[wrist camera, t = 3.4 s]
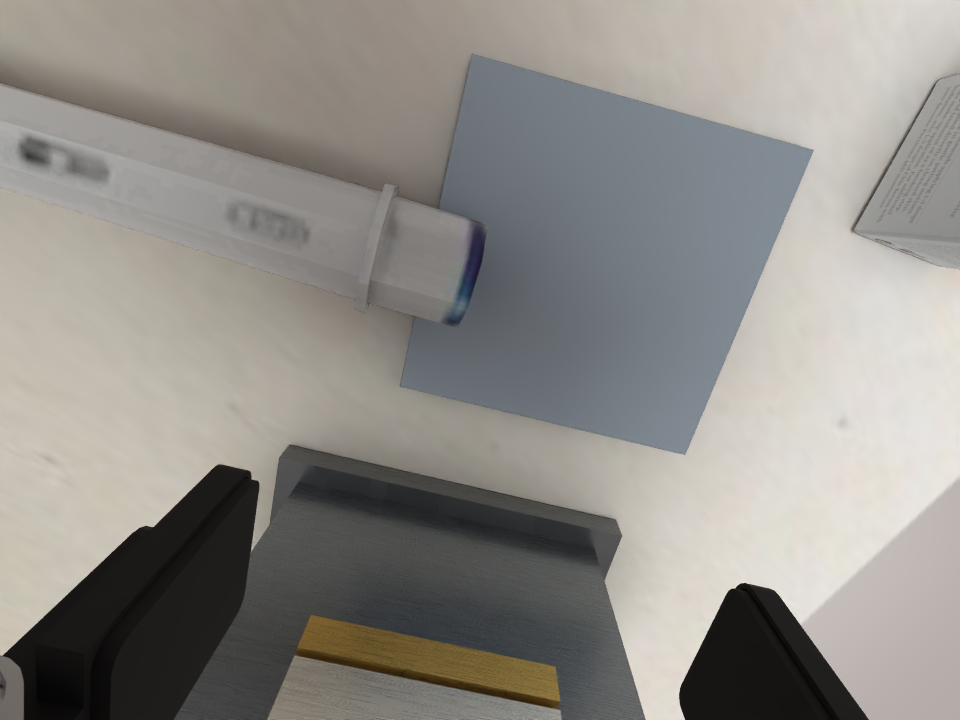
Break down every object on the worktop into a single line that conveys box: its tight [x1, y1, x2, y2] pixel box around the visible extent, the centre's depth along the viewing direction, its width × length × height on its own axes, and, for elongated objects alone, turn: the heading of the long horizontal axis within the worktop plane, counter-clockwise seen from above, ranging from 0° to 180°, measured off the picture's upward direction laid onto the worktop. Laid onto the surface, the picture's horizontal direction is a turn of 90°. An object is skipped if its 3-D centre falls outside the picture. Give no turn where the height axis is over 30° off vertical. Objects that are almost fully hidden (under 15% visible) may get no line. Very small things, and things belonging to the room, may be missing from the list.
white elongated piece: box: [0, 83, 489, 328], centre depth 18 cm, size 5×7×25 cm
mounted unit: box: [174, 445, 645, 720], centre depth 17 cm, size 8×16×17 cm, turn 76°
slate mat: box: [400, 54, 814, 455], centre depth 21 cm, size 13×13×1 cm
